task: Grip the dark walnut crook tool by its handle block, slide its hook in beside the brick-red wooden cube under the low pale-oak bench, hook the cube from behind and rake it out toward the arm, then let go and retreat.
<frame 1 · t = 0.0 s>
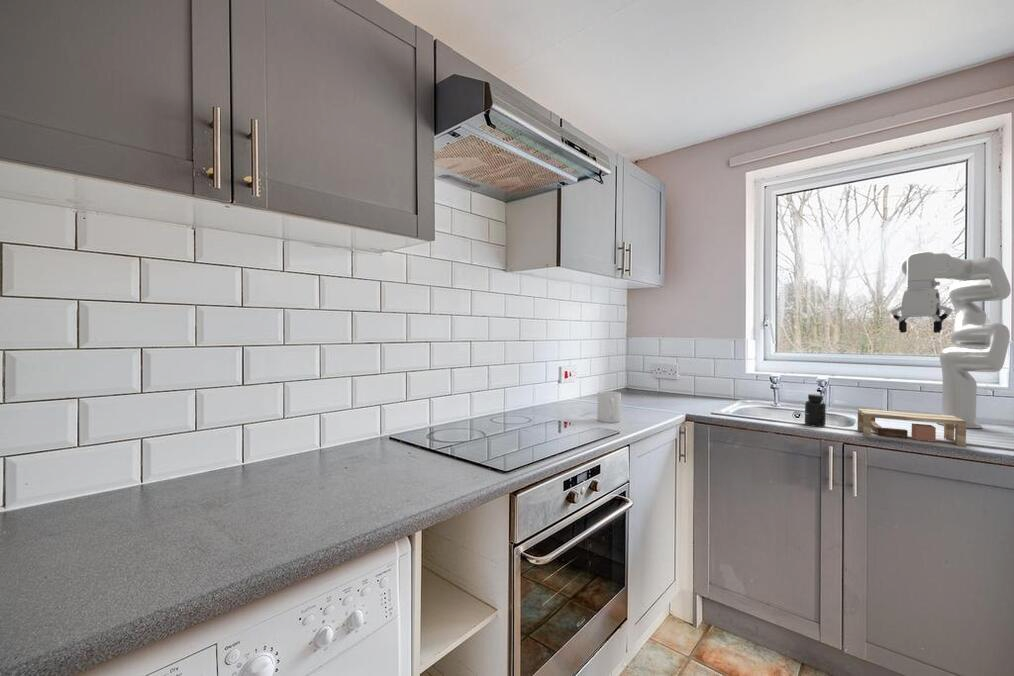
hand: (919, 332, 160), 37 cm above the countertop, tool pointing down, fingers open, 9 cm apart
crook: (867, 423, 177), on the countertop
mug: (610, 422, 178), on the countertop
cube: (923, 439, 151), on the countertop
low bench: (907, 437, 153), on the countertop
supplement bottle: (814, 425, 174), on the countertop
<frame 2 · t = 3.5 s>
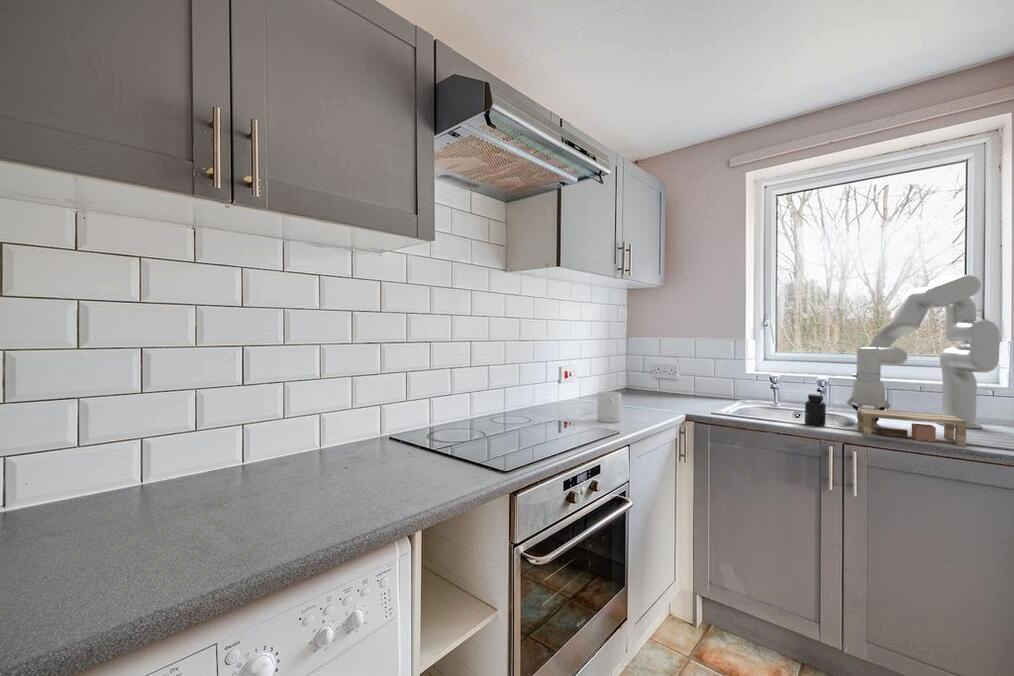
hand: (867, 421, 177), 1 cm above the countertop, tool pointing down, fingers closed on crook, 4 cm apart
crook: (867, 423, 177), on the countertop, touching gripper
everything else where it was.
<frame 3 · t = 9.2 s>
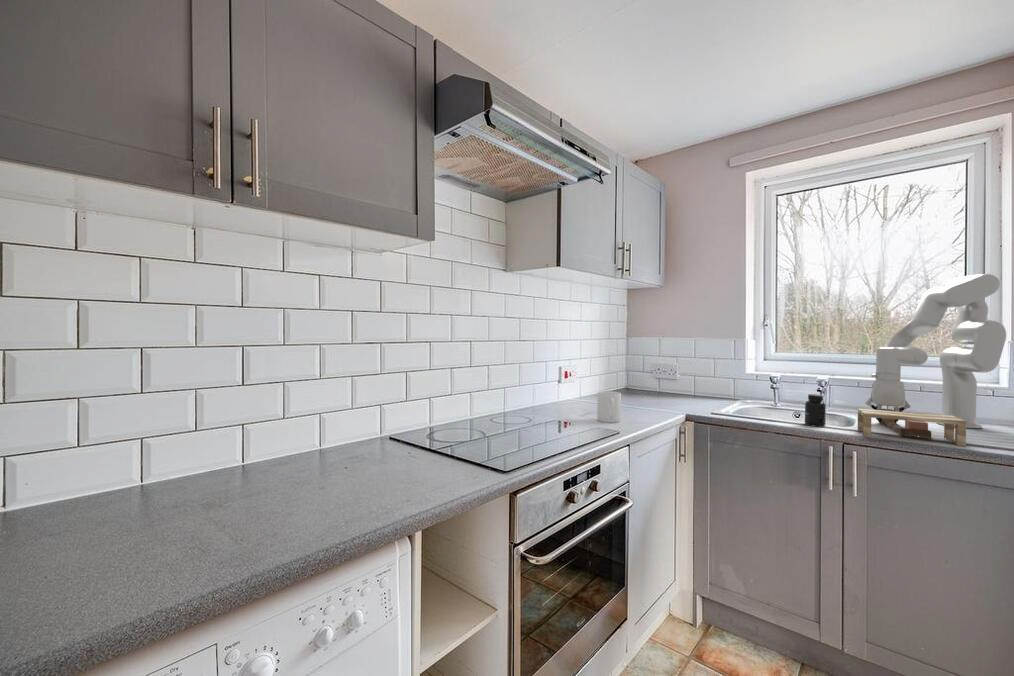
hand: (887, 422, 176), 1 cm above the countertop, tool pointing down, fingers closed on crook, 4 cm apart
crook: (886, 424, 176), on the countertop, touching cube, gripper
cube: (916, 435, 157), on the countertop, touching crook
everything else where it was.
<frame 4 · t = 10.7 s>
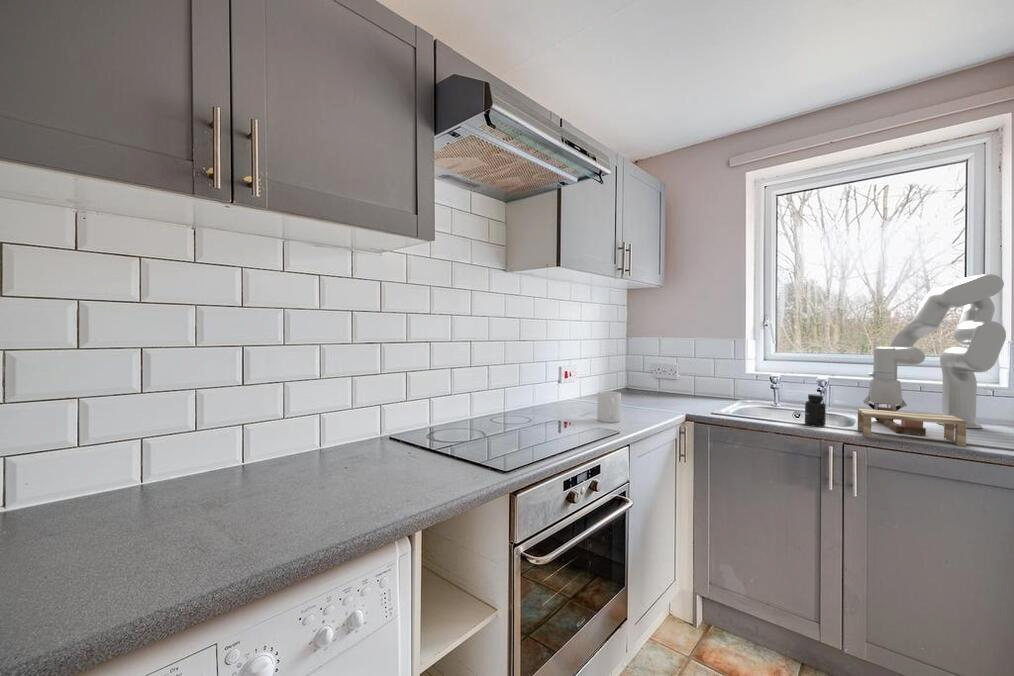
hand: (884, 420, 180), 1 cm above the countertop, tool pointing down, fingers closed on crook, 3 cm apart
crook: (884, 422, 180), on the countertop, touching gripper
cube: (911, 432, 162), on the countertop
everything else where it was.
when the fingers open (1 cm above the countertop, at t = 10.7 s): crook stays where it is, on the countertop.
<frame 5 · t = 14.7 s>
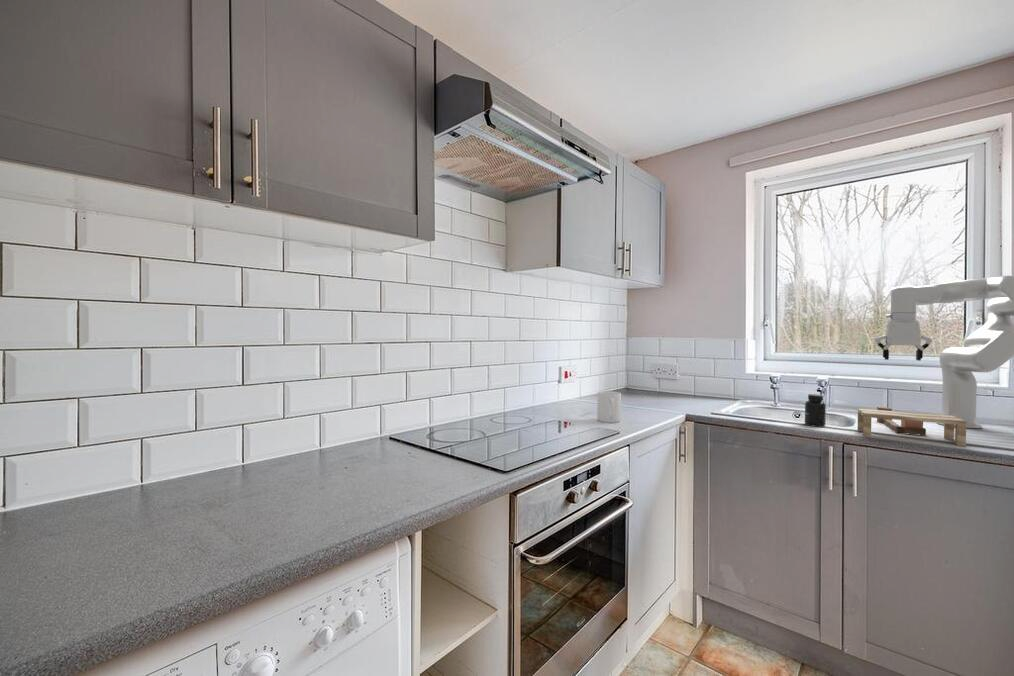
hand: (902, 359, 174), 26 cm above the countertop, tool pointing down, fingers open, 9 cm apart
crook: (884, 422, 180), on the countertop
everything else where it was.
at the end: cube inside the target area (1.9 cm from its centre), on the countertop; cube tilted 0°; the gripper is holding nothing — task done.
